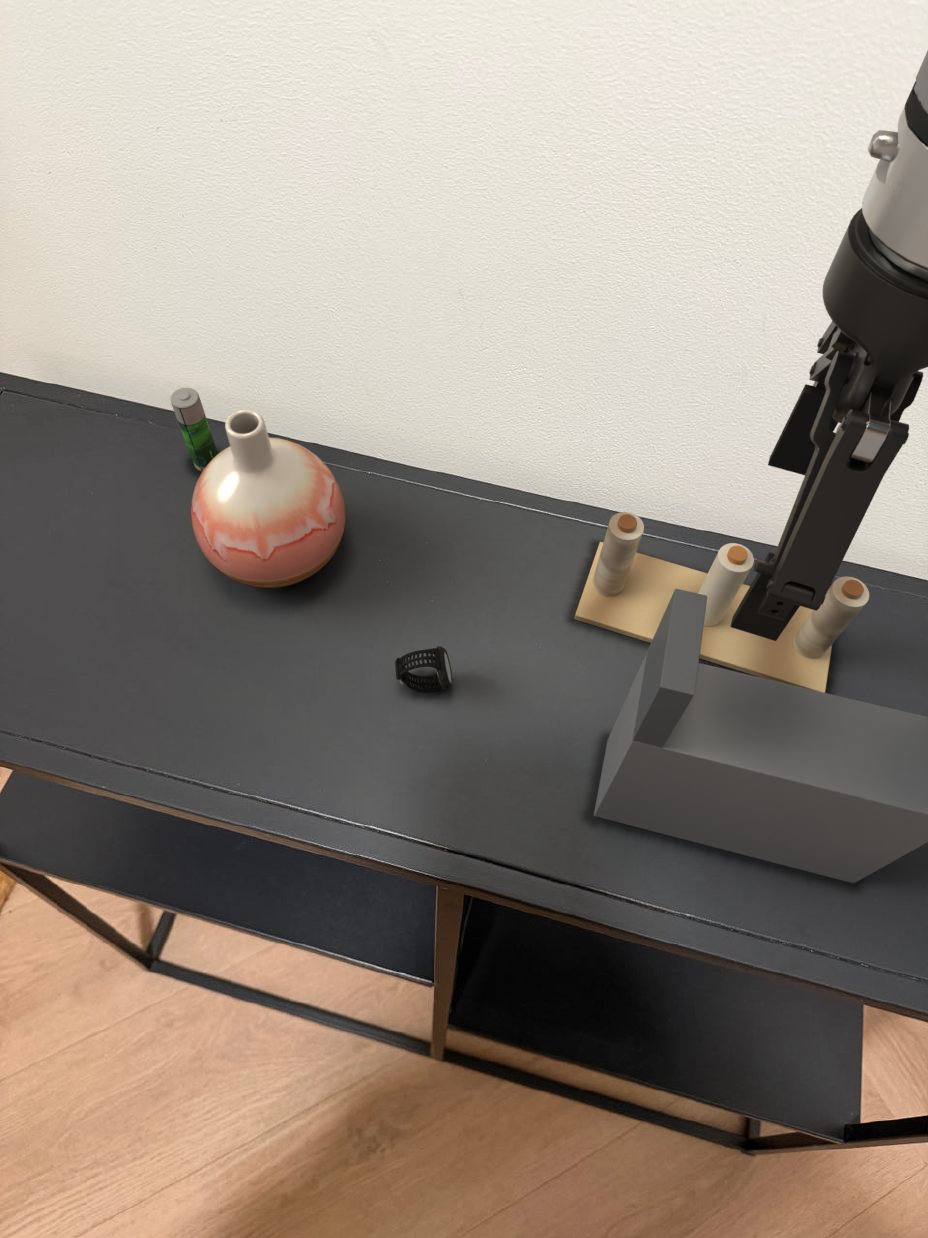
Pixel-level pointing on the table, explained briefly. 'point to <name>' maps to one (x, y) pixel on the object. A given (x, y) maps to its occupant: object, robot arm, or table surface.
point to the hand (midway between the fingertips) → (772, 543)
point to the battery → (194, 426)
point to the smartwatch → (437, 661)
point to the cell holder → (642, 588)
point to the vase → (266, 507)
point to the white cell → (725, 580)
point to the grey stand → (762, 762)
